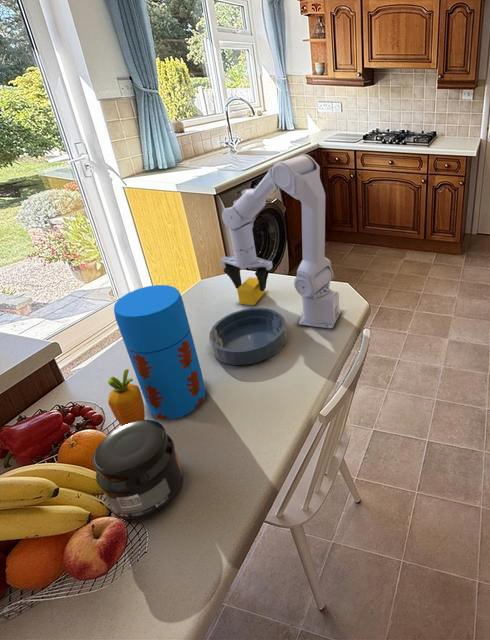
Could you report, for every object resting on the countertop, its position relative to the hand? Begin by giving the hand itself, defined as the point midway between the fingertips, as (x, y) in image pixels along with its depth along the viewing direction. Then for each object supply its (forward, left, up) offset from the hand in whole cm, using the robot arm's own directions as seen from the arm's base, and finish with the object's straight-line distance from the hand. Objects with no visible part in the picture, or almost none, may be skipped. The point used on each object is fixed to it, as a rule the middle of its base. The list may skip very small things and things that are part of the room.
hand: (251, 288), depth 119 cm
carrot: (-1, +48, -3) cm, 48 cm away
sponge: (0, 0, -3) cm, 3 cm away
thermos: (-3, +39, -3) cm, 40 cm away
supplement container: (-11, +58, -3) cm, 59 cm away
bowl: (-9, +19, -3) cm, 22 cm away
